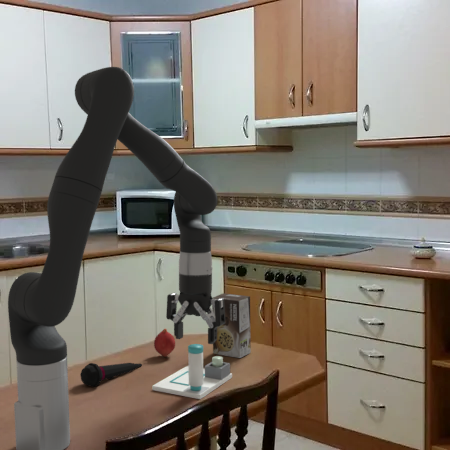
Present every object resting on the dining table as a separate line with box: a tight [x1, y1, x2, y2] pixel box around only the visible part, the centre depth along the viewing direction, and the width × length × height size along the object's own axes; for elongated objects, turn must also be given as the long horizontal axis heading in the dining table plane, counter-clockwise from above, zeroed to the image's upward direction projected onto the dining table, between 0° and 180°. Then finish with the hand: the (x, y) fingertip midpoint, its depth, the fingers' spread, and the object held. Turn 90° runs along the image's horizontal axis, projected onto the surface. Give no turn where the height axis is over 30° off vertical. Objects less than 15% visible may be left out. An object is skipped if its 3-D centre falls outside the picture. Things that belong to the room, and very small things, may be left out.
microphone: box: [80, 362, 143, 388], centre depth 160 cm, size 6×6×20 cm
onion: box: [153, 327, 176, 358], centre depth 176 cm, size 6×6×8 cm
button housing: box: [204, 361, 231, 380], centre depth 158 cm, size 5×5×3 cm
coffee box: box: [211, 292, 252, 359], centre depth 178 cm, size 9×6×16 cm
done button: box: [211, 355, 224, 367], centre depth 158 cm, size 3×3×2 cm
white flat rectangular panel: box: [151, 365, 233, 400], centre depth 155 cm, size 16×13×1 cm
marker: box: [187, 343, 204, 391], centre depth 148 cm, size 4×4×10 cm
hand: (195, 340), depth 147 cm, fingers open, 8 cm apart
